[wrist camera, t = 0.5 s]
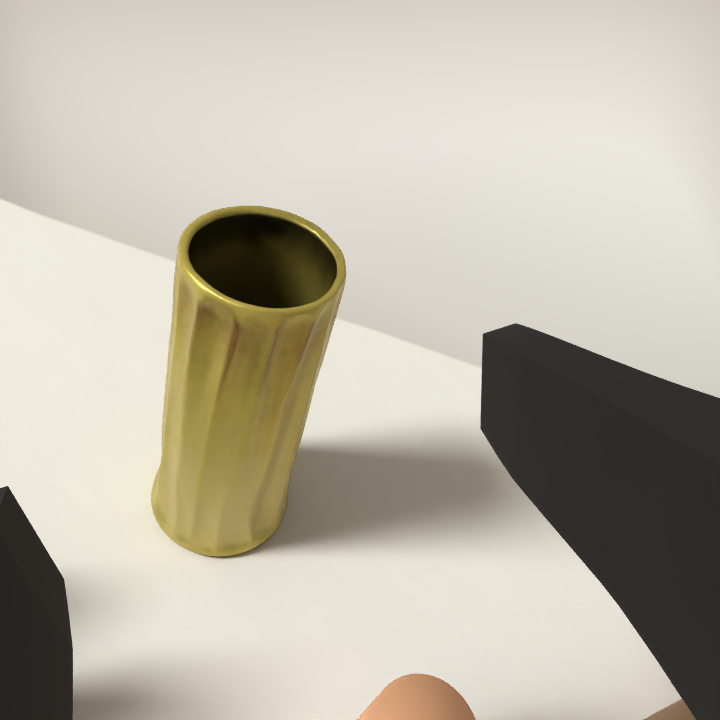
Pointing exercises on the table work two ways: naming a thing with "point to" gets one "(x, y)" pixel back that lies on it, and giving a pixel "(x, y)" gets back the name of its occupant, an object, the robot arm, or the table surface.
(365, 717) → the peg
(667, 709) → the hole block
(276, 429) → the vase
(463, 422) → the table surface
